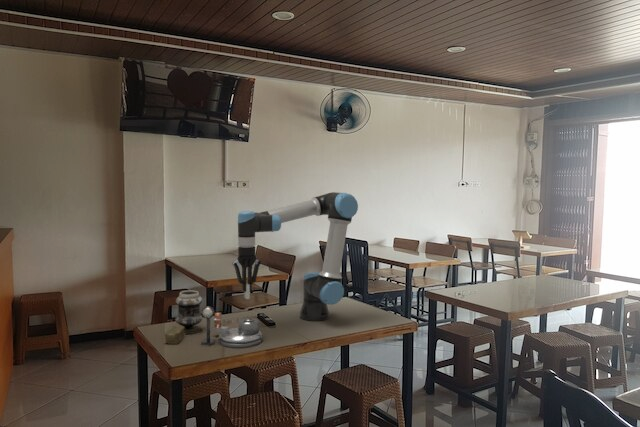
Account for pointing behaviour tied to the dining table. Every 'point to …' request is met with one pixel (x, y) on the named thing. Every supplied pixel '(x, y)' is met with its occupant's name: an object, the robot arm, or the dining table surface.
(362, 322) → the dining table surface
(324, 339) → the dining table surface
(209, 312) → the dial gauge stand
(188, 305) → the apothecary jar
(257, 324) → the cover
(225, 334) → the turntable
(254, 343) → the turntable base
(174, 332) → the stone block
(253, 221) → the robot arm
